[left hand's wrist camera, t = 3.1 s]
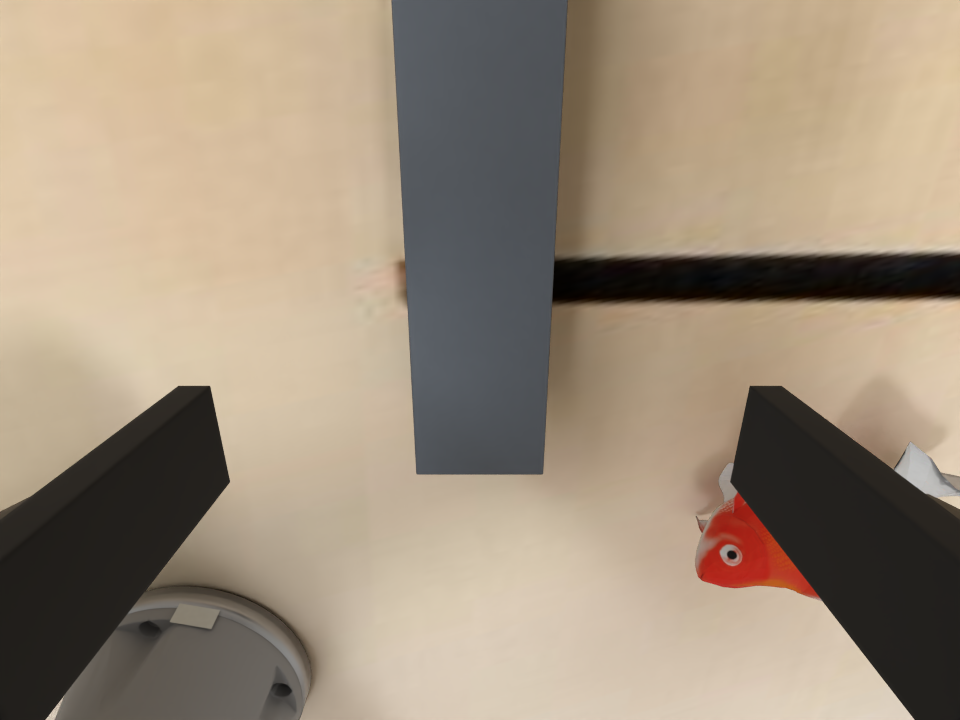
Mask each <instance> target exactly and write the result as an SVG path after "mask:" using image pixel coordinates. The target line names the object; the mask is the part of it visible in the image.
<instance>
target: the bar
mask: <svg viewBox="0 0 960 720" xmlns="http://www.w3.org/2000/svg"><path fill="white" fill-rule="evenodd" d="M567 6H568V0H392V19H393V38H394V57H395V76H396V95H397V114H398V133H399V152H400V171H401V190H402V209H403V228H404V247H405V266H406V285H407V304H408V323H409V342H410V361H411V380H412V399H413V418H414V437H415V456H416V473H417V474H543V466H544V447H545V428H546V409H547V390H548V370H549V351H550V332H551V313H552V294H553V274H554V255H555V236H556V217H557V198H558V179H559V159H560V140H561V121H562V102H563V83H564V64H565V44H566V25H567Z"/></svg>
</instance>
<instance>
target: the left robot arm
mask: <svg viewBox="0 0 960 720" xmlns="http://www.w3.org/2000/svg"><path fill="white" fill-rule="evenodd" d="M229 483H230V480H229V475H228V470H227V465H226V460H225V455H224V451H223V446H222V441H221V436H220V431H219V427H218V422H217V417H216V412H215V407H214V403H213V398H212V393H211V388H210V386H178V387H177V388H175V389H174V390H173V391H171V392H170V393H169V394H167V395H166V396H165V397H163V398H162V399H161V400H159V401H158V402H157V403H155V404H154V405H152V406H151V407H150V408H148V409H147V410H146V411H144V412H143V413H142V414H140V415H139V416H138V417H136V418H135V419H134V420H132V421H131V422H130V423H128V424H127V425H126V426H124V427H123V428H122V429H120V430H119V431H118V432H116V433H115V434H114V435H112V436H111V437H110V438H108V439H107V440H106V441H104V442H103V443H102V444H100V445H99V446H98V447H96V448H95V449H94V450H92V451H91V452H90V453H88V454H87V455H86V456H84V457H83V458H82V459H80V460H79V461H78V462H76V463H75V464H74V465H72V466H71V467H70V468H68V469H67V470H66V471H64V472H63V473H62V474H60V475H59V476H58V477H56V478H55V479H54V480H52V481H51V482H50V483H48V484H47V485H46V486H44V487H43V488H42V489H40V490H39V491H38V492H36V493H35V494H34V495H32V496H31V497H29V498H27V499H25V500H23V501H21V502H19V503H17V504H15V505H13V506H11V507H9V508H7V509H5V510H3V511H1V512H0V720H45V719H46V718H47V717H48V716H49V714H50V713H51V712H52V710H53V709H54V708H55V707H56V705H57V704H58V703H59V701H60V700H61V699H62V698H63V696H64V695H65V696H64V698H63V701H62V703H61V706H60V708H59V711H58V713H57V716H56V718H55V720H299V719H300V717H301V714H302V711H303V708H304V705H305V702H306V699H307V696H308V692H309V689H310V685H311V668H310V663H309V660H308V656H307V654H306V652H305V650H304V648H303V646H302V644H301V643H300V641H299V640H298V638H297V637H296V636H295V634H294V633H293V632H292V631H291V630H290V629H289V628H288V626H286V625H285V624H284V623H283V622H282V621H281V620H280V619H278V618H277V617H276V616H275V615H273V614H272V613H270V612H269V611H267V610H266V609H264V608H263V607H261V606H259V605H257V604H255V603H253V602H251V601H249V600H247V599H244V598H242V597H239V596H236V595H234V594H230V593H227V592H224V591H220V590H215V589H210V588H203V587H192V586H175V587H164V588H159V589H154V590H150V591H146V589H147V588H148V587H149V586H150V584H151V583H152V582H153V580H154V579H155V578H156V577H157V575H158V574H159V573H160V571H161V570H162V569H163V568H164V566H165V565H166V564H167V562H168V561H169V560H170V559H171V557H172V556H173V555H174V553H175V552H176V551H177V550H178V548H179V547H180V546H181V544H182V543H183V542H184V541H185V539H186V538H187V537H188V535H189V534H190V533H191V532H192V530H193V529H194V528H195V526H196V525H197V524H198V523H199V521H200V520H201V519H202V517H203V516H204V515H205V514H206V512H207V511H208V510H209V508H210V507H211V506H212V505H213V503H214V502H215V501H216V499H217V498H218V497H219V495H220V494H221V493H222V492H223V490H224V489H225V488H226V486H227V485H228V484H229ZM730 483H731V484H732V485H733V486H734V488H735V489H736V490H737V492H738V493H739V494H740V496H741V497H742V498H743V499H744V501H745V502H746V503H747V505H748V506H749V507H750V508H751V510H752V511H753V512H754V514H755V515H756V516H757V517H758V519H759V520H760V521H761V523H762V524H763V525H764V526H765V528H766V529H767V530H768V532H769V533H770V534H771V535H772V537H773V538H774V539H775V541H776V542H777V543H778V544H779V546H780V547H781V548H782V550H783V551H784V552H785V553H786V555H787V556H788V557H789V559H790V560H791V561H792V562H793V564H794V565H795V566H796V568H797V569H798V570H799V571H800V573H801V574H802V575H803V577H804V578H805V579H806V580H807V582H808V583H809V584H810V586H811V587H812V588H813V589H814V591H815V592H816V593H817V595H818V596H819V597H820V598H821V600H822V601H823V602H824V604H825V605H826V606H827V607H828V609H829V610H830V611H831V613H832V614H833V615H834V616H835V618H836V619H837V620H838V622H839V623H840V624H841V625H842V627H843V628H844V629H845V631H846V632H847V633H848V635H849V636H850V637H851V638H852V640H853V641H854V642H855V644H856V645H857V646H858V647H859V649H860V650H861V651H862V653H863V654H864V655H865V656H866V658H867V659H868V660H869V662H870V663H871V664H872V665H873V667H874V668H875V669H876V671H877V672H878V673H879V674H880V676H881V677H882V678H883V680H884V681H885V682H886V683H887V685H888V686H889V687H890V689H891V690H892V691H893V692H894V694H895V695H896V696H897V698H898V699H899V700H900V701H901V703H902V704H903V705H904V707H905V708H906V709H907V710H908V712H909V713H910V714H911V716H912V717H913V718H914V719H915V720H960V509H958V508H956V507H954V506H952V505H950V504H948V503H946V502H944V501H942V500H940V499H938V498H936V497H934V496H932V495H930V494H925V493H924V492H922V491H921V490H920V489H918V488H917V487H916V486H914V485H913V484H912V483H910V482H909V481H908V480H906V479H905V478H904V477H902V476H901V475H900V474H898V473H897V472H896V471H894V470H893V469H892V468H890V467H889V466H888V465H886V464H885V463H884V462H882V461H881V460H880V459H878V458H877V457H876V456H874V455H873V454H872V453H870V452H869V451H868V450H866V449H865V448H864V447H862V446H861V445H860V444H858V443H857V442H856V441H854V440H853V439H852V438H850V437H849V436H848V435H846V434H845V433H844V432H842V431H841V430H840V429H838V428H837V427H836V426H834V425H833V424H832V423H830V422H829V421H828V420H826V419H825V418H824V417H822V416H821V415H820V414H818V413H817V412H816V411H814V410H813V409H812V408H810V407H809V406H808V405H806V404H805V403H803V402H802V401H801V400H799V399H798V398H797V397H795V396H794V395H793V394H791V393H790V392H789V391H787V390H786V389H785V388H783V387H782V386H750V388H749V393H748V398H747V403H746V407H745V412H744V417H743V422H742V427H741V431H740V436H739V441H738V446H737V451H736V455H735V460H734V465H733V470H732V475H731V479H730ZM145 591H146V592H145Z"/></svg>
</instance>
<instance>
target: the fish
mask: <svg viewBox="0 0 960 720" xmlns="http://www.w3.org/2000/svg"><path fill="white" fill-rule="evenodd" d="M733 465H734V463H728V464H727V466H726V467H725V468H724V470H723V472H722V473H721V475H720V477H719V486H720V488H721V490H722V492H723V496H724V503H723V504H722V505H720V506H719V507H718V508H716V509H715V511H714V512H713V513H712V515H711V517H710V518H709V520H699V519H698V518H697V516H696V518H697V521H698V525H699V528H700V530H701V532H702V536H701V538H700V541H699V544H698V548H697V552H696V558H695V566H696V571H697V575H698V577H699V578H700V579H701V580H702V581H704V582H708V583H712V584H715V585H719V586H722V587H729V588H742V587H750V586H772V587H780V588H788V589H791V590H794V591H796V592H797V593H800V594H803V595H805V596H808V597H811V598H814V599H817V600H821V598H820V597H819V596H818V595H817V593H816V592H815V591H814V589H813V588H812V587H811V586H810V584H809V583H808V582H807V580H806V579H805V578H804V577H803V575H802V574H801V573H800V571H799V570H798V569H797V568H796V566H795V565H794V564H793V562H792V561H791V560H790V559H789V557H788V556H787V555H786V553H785V552H784V551H783V550H782V548H781V547H780V546H779V544H778V543H777V542H776V541H775V539H774V538H773V537H772V535H771V534H770V533H769V532H768V530H767V529H766V528H765V526H764V525H763V524H762V523H761V521H760V520H759V519H758V517H757V516H756V515H755V514H754V512H753V511H752V510H751V508H750V507H749V506H748V505H747V503H746V502H745V501H744V499H743V498H742V497H741V496H740V494H739V493H738V492H737V490H736V489H735V488H734V486H733V485H732V484H731V483H730V479H731V475H732V470H733ZM894 471H896V472H897V473H898V474H900V475H901V476H902V477H904V478H905V479H906V480H908V481H909V482H910V483H912V484H913V485H914V486H916V487H917V488H918V489H920V490H921V491H922V492H924V493H925V494H930V495H932V496H934V497H936V498H937V497H943V496H960V477H959V476H954V475H950V474H945V473H940V471H939V470H938V468H937V466H936V465H935V463H934V462H933V460H932V459H931V458H930V457H929V456H928V455H926V454H925V453H924V452H923V451H921V450H920V449H919V448H918V447H916V446H915V445H914V444H913V443H911V442H910V443H909V444H908V446H907V448H906V450H905V452H904V454H903V455H902V457H901V459H900V460H899V462H898V463H897V465H896V466H895V468H894ZM821 601H822V600H821Z"/></svg>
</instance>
